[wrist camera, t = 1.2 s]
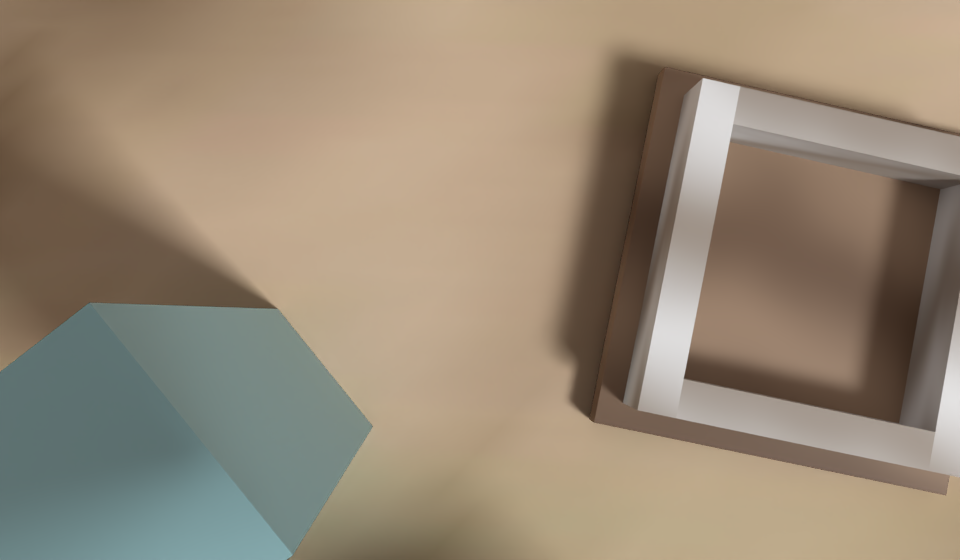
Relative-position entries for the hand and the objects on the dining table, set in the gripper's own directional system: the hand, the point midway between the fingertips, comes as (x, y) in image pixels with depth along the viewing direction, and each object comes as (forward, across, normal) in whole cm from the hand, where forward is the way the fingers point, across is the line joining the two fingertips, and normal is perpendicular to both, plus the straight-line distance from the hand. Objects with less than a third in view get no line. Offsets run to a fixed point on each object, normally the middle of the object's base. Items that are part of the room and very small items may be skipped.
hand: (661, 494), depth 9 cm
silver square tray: (+14, -10, +7) cm, 18 cm away
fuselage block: (+14, +9, +6) cm, 18 cm away
